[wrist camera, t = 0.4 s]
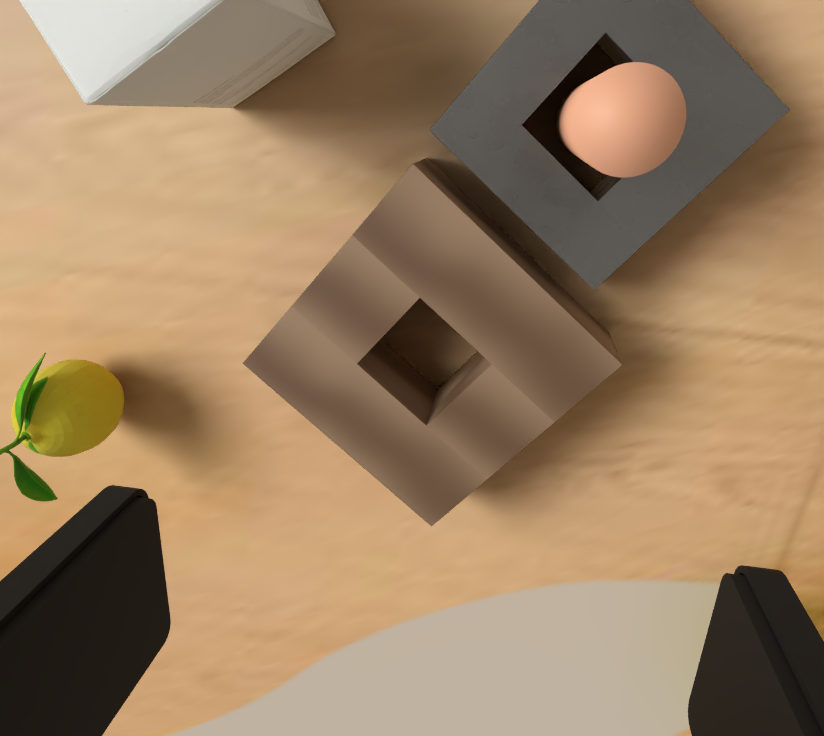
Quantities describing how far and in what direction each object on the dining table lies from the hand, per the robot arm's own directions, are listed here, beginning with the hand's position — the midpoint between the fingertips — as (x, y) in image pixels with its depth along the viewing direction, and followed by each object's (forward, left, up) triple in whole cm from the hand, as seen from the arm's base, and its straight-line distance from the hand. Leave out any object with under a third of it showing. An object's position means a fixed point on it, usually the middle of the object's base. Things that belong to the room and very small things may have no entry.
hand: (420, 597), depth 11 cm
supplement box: (-1, -18, -28) cm, 33 cm away
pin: (-9, -1, -27) cm, 29 cm away
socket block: (+5, +1, -27) cm, 28 cm away
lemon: (+23, -12, -28) cm, 38 cm away
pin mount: (-9, -1, -27) cm, 29 cm away
